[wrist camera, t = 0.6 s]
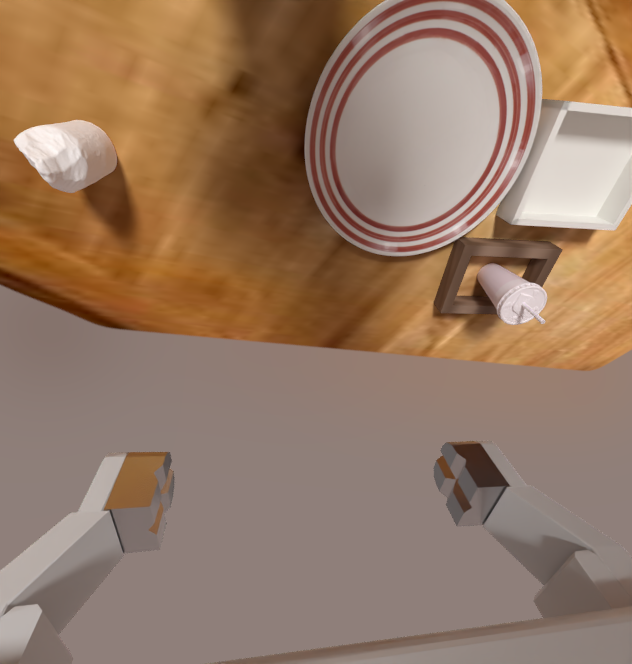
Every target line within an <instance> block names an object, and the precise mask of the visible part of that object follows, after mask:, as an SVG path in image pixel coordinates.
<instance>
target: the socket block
mask: <svg viewBox="0 0 632 664" xmlns="http://www.w3.org/2000/svg"><path fill="white" fill-rule="evenodd" d="M561 252H562V249H561V248H559V247H557V246H556V245H554V244H552V243H551V242H546V241H526V240H506V239H486V238H466V237H460V238H458V239H457V240H455V242H454V245H453V248H452V251H451V254H450V257H449V260H448V263H447V266H446V269H445V272H444V274H443V277H442V280H441V283H440V286H439V289H438V292H437V295H436V298H435V301H434V304H435V306H436V307H437V309H438V310H439V311H440V313H463V314H497V309H496V308H495V306H494V304H493V303H492V301H491V300H490V298H489V297H481V296H456V295H457V292H458V290H459V287H460V284H461V282H462V279H463V277H464V274H465V271H466V269H467V266H468V264H469V261H470V258H471V256H492V257H515V258H532V259H531V261H530V263H529V265H528V267H527V269H526V271H525V273H524V275H523V277H522V278H523V279H524V280H526V281H528V282H530V283H535V284H538V285H540V286H541V287H542V286H543V284H544V282H545V281H546V279H547V277H548V275H549V273H550V272H551V270H552V268H553V266H554V264H555V262H556V261H557V259H558V257H559V255H560V253H561Z"/></svg>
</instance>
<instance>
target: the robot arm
mask: <svg viewBox="0 0 632 664" xmlns="http://www.w3.org/2000/svg"><path fill="white" fill-rule="evenodd" d="M441 453H442V454H443V456H441V457H440V458H439V459H437V460H436V463H435V466H434V478H435V482H436V485H437V487H438V489H439V491H440V492H441V493H442V494H443V495H445V496H446V497H447V503H446V506H447V508H448V510H449V511H450V514H451V515H452V518H453V519H454V522H455V524H456V526H474V525H483V527H484V528H485V529H486V530H487V531H488V532H489V533H490V534H491V535H492V536H493V537H494V538H495V539H496V540H497V541H498V542H499V543H500V544H501V545H502V546H503V547H504V548H506V550H508V551H509V552H510V553H511V554H512V555H513V556H514V557H515V558H516V559H517V560H518V561H519V562H520V563H521V564H522V565H523V566H524V567H525V568H526V569H527V570H528V571H529V572H531V573H532V574H533V575H534V576H535V577H536V578H537V579H538V580H539V581H540V582H541V583H542V584H543V585H544V586H543V587H542V589H541V590H540V591H539V592H538V593H537V594H536V595H535V598H534V602H535V604H536V606H537V608H538V610H539V611H540V613H541V615H542V617H543V618H540V619H533V620H526V621H519V622H511V623H503V624H496V625H488V626H482V627H473V628H466V629H459V630H451V631H444V632H437V633H429V634H422V635H414V636H407V637H400V638H392V639H385V640H377V641H370V642H362V643H355V644H348V645H341V646H333V647H326V648H319V649H311V650H303V651H296V652H289V653H281V654H274V655H266V656H259V657H251V658H245V659H237V660H230V661H222V662H215V663H208V664H632V557H631V556H630V555H629V553H628V552H627V551H626V550H625V549H624V548H623V546H622V545H620V544H619V543H617V542H616V541H614V540H613V539H611V538H610V537H608V536H606V535H605V534H604V533H602V532H601V531H599V530H598V529H596V528H595V527H593V526H592V525H590V524H588V523H587V522H585V521H584V520H582V519H581V518H579V517H578V516H576V515H575V514H573V513H572V512H570V511H569V510H567V509H566V508H564V507H563V506H561V505H560V504H558V503H557V502H555V501H554V500H552V499H551V498H549V497H548V496H546V495H545V494H543V493H542V492H540V491H539V490H537V489H536V488H534V487H533V486H527V485H526V484H525V482H524V481H523V480H522V478H521V477H520V476H519V474H518V473H517V472H516V470H515V469H514V468H513V466H512V465H511V464H510V462H509V461H508V460H507V458H506V457H505V456H504V454H503V453H502V452H501V450H500V449H499V448H498V446H497V445H496V444H495V443H494V442H492V441H476V442H475V441H467V442H447V443H445V444H444V445H443V446H442V448H441ZM171 462H172V459H171V454H170V452H130V453H129V452H128V453H109V454H108V455H107V456H106V457H105V458H104V459H103V462H102V463H101V465H100V467H99V469H98V471H97V473H96V476H95V478H94V480H93V482H92V484H91V486H90V488H89V490H88V492H87V494H86V496H85V498H84V500H83V502H82V504H81V506H80V508H79V510H78V512H73V513H70V514H69V515H67V516H66V517H65V518H64V519H62V520H61V521H60V522H59V523H58V524H56V525H55V526H54V527H53V528H52V529H51V530H49V531H48V532H47V533H46V534H44V535H43V536H42V537H41V538H40V539H38V540H37V541H36V542H35V543H33V544H32V545H31V546H30V547H29V548H27V549H26V550H25V551H24V552H22V553H21V554H20V555H19V556H18V557H16V558H15V559H14V560H13V561H12V562H10V563H9V564H8V565H7V566H6V567H4V568H3V569H2V570H1V571H0V664H72V661H73V657H72V655H71V653H70V651H69V650H68V648H67V647H66V645H65V644H64V642H63V641H62V640H61V638H60V637H59V634H60V633H61V631H62V630H63V629H64V628H65V626H66V625H67V624H68V623H69V622H70V620H71V619H72V618H73V617H74V616H75V614H76V613H77V612H78V610H80V608H81V607H82V606H83V605H84V603H85V602H86V601H87V600H88V599H89V597H90V596H91V595H92V594H93V593H94V591H95V590H96V589H97V588H98V586H99V585H100V584H101V583H102V582H103V580H104V579H105V578H106V577H107V576H108V574H109V573H110V572H111V570H112V569H113V568H114V567H115V566H116V565H117V564H118V562H119V561H120V560H121V559H122V557H123V556H124V554H123V553H132V552H142V551H151V550H159V549H160V547H161V543H162V539H163V535H164V531H165V527H166V518H165V512H166V511H167V510H168V509H169V508H170V507H171V503H172V498H173V492H174V471H172V470H171V469H170V465H171Z"/></svg>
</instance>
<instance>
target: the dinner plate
mask: <svg viewBox="0 0 632 664" xmlns="http://www.w3.org/2000/svg"><path fill="white" fill-rule="evenodd" d="M541 104H542V76H541V68H540V63H539V58H538V54H537V51H536V47H535V44H534V42H533V39H532V37H531V35H530V33H529V31H528V29H527V27H526V25H525V24H524V22H523V21H522V19H521V18H520V16H519V15H518V14H517V13H516V12H515V10H514V9H513V8H512V7H511V6H510V5H509V4H508V3H507V2H505V1H504V0H385V1H384V2H382V3H380V4H379V5H377V6H376V7H375V8H374V9H372V10H371V11H370V12H369V13H367V14H366V15H365V16H364V17H363V18H362V19H361V20H360V21H359V22H358V23H357V24H356V25H355V26H354V27H353V28H352V29H351V30H350V31H349V32H348V34H347V35H346V36H345V37H344V38H343V40H342V41H341V42H340V44H339V45H338V46H337V48H336V49H335V51H334V52H333V54H332V55H331V57H330V59H329V60H328V62H327V64H326V66H325V68H324V70H323V72H322V74H321V76H320V78H319V81H318V83H317V86H316V88H315V91H314V94H313V97H312V100H311V104H310V108H309V112H308V117H307V123H306V130H305V148H304V151H305V165H306V172H307V177H308V181H309V185H310V188H311V192H312V194H313V197H314V199H315V201H316V204H317V206H318V208H319V210H320V211H321V213H322V215H323V216H324V218H325V219H326V220H327V222H328V223H329V224H330V225H331V227H332V228H333V229H334V230H335V231H336V232H337V233H338V234H339V235H340V236H342V237H343V238H344V239H345V240H347V241H348V242H350V243H351V244H353V245H355V246H357V247H359V248H361V249H363V250H366V251H369V252H371V253H375V254H380V255H386V256H411V255H417V254H421V253H425V252H429V251H432V250H435V249H438V248H440V247H443V246H445V245H447V244H449V243H451V242H453V241H455V240H457V239H458V238H460V237H462V236H463V235H465V234H466V233H468V232H469V231H470V230H472V229H473V228H474V227H476V226H477V225H478V224H479V223H480V222H482V221H483V220H484V219H485V218H486V217H487V216H488V215H489V214H490V213H491V212H492V211H493V210H494V209H495V208H496V207H497V205H498V204H499V203H500V202H501V201H502V199H503V198H504V197H505V195H506V194H507V193H508V191H509V190H510V188H511V187H512V185H513V184H514V182H515V181H516V179H517V178H518V176H519V174H520V172H521V170H522V168H523V166H524V164H525V162H526V160H527V158H528V155H529V153H530V150H531V147H532V144H533V141H534V138H535V135H536V131H537V127H538V123H539V118H540V112H541Z"/></svg>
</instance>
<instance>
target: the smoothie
mask: <svg viewBox="0 0 632 664" xmlns="http://www.w3.org/2000/svg"><path fill="white" fill-rule="evenodd" d="M477 279H478V281H479V283H480V284H481V286H482V287H483V289H484V291H485V292H486V294H487V295H488V297H489V298H490V300H491V301H492V303H493V304H494V306H495V308H496V309H497V314H498V316H499V318H500V319H502V320H503V321H504V322H505V323H507V324H511V325H517V324H522V323H525V322H527V321H529V320H531V319H533V318H534V317H535V318H536V319H537V320H538V321H539V322H540V323H541V324H544V323H545V320H544V319H543V318H542V317H541V316H539V315H538V314H539V313H540V312H541V311H542V309H543V308H544V306H545V304H546V301H547V294H546V292H545V290H544V289H543V288H542V287H541V286H540V285H538V284H535V283H530V282H528V281H526V280H524V279H523V278H521V277H519V276H517V275H516V274H514V273H512V272H510V271H509V270H507V269H505V268H503V267H502V266H500V265H498V264H496V263H490V264H487V265H485V266H483V267H482V268H481V269H480V271H479V272H478V275H477Z"/></svg>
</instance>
